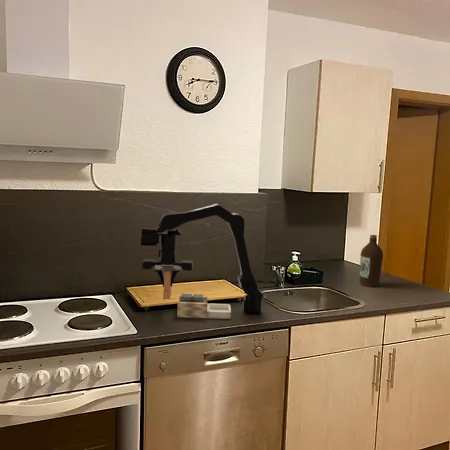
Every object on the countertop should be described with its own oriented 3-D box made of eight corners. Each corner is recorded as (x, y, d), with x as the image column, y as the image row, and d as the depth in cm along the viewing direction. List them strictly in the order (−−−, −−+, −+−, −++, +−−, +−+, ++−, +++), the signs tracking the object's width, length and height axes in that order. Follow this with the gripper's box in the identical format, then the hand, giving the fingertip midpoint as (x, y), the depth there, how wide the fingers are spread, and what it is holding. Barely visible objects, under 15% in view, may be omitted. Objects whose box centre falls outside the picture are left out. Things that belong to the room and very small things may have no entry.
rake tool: (171, 294, 186) (171, 269, 185) (169, 299, 180) (170, 273, 179) (164, 294, 186) (165, 269, 185) (163, 299, 180) (163, 273, 179)
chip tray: (229, 310, 190) (230, 304, 190) (230, 318, 180) (231, 312, 180) (207, 309, 190) (207, 303, 189) (206, 318, 180) (207, 311, 179)
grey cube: (191, 304, 186) (192, 294, 185) (191, 307, 182) (191, 297, 182) (181, 303, 186) (181, 293, 185) (180, 306, 182) (181, 296, 181)
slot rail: (206, 309, 190) (207, 296, 189) (206, 318, 180) (207, 303, 179) (179, 308, 189) (179, 295, 189) (177, 317, 179) (177, 302, 179)
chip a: (203, 304, 186) (203, 294, 186) (203, 307, 182) (203, 297, 182) (193, 304, 186) (193, 294, 186) (192, 307, 182) (192, 297, 182)
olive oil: (370, 281, 245) (375, 233, 242) (384, 286, 235) (389, 236, 232) (353, 282, 241) (357, 233, 237) (367, 288, 231) (371, 237, 228)
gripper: (194, 243, 189) (192, 281, 191) (146, 241, 188) (145, 280, 190) (192, 248, 178) (191, 289, 180) (142, 247, 177) (141, 288, 179)
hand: (167, 286), depth 183 cm, fingers closed on rake tool, 2 cm apart
